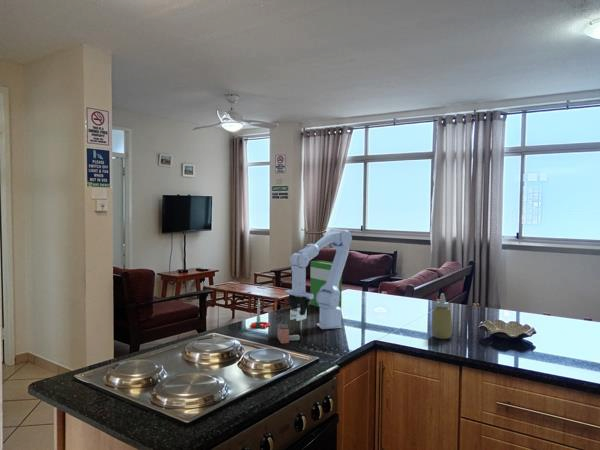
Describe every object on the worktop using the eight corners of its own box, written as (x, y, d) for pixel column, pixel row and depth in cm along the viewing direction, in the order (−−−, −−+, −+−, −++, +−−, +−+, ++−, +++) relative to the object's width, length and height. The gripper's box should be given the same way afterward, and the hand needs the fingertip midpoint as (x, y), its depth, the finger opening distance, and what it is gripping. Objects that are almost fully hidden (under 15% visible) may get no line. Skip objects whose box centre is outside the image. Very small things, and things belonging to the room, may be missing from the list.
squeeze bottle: (452, 335, 179) (452, 292, 179) (452, 340, 172) (453, 296, 171) (431, 333, 182) (432, 291, 182) (431, 338, 174) (431, 294, 174)
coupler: (296, 336, 177) (296, 321, 176) (301, 342, 169) (301, 327, 169) (276, 337, 175) (276, 323, 174) (280, 343, 167) (280, 328, 167)
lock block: (299, 316, 185) (299, 307, 185) (306, 318, 183) (306, 309, 182) (290, 319, 181) (290, 309, 181) (297, 321, 178) (297, 311, 178)
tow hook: (253, 323, 198) (248, 328, 189) (254, 295, 199) (249, 298, 190) (271, 324, 197) (267, 329, 188) (272, 296, 197) (267, 299, 188)
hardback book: (341, 308, 229) (341, 263, 228) (330, 310, 225) (331, 264, 224) (320, 302, 243) (321, 260, 243) (310, 304, 239) (310, 261, 238)
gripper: (279, 281, 183) (279, 312, 184) (305, 284, 174) (305, 318, 174) (291, 279, 188) (290, 310, 189) (316, 282, 179) (316, 315, 179)
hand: (298, 313), depth 182 cm, fingers closed on lock block, 4 cm apart
